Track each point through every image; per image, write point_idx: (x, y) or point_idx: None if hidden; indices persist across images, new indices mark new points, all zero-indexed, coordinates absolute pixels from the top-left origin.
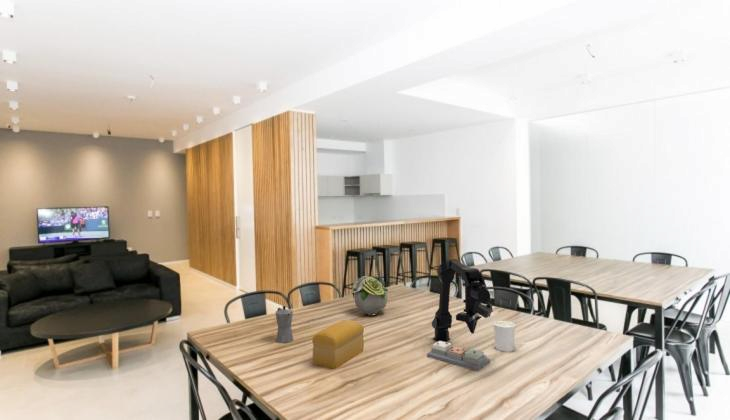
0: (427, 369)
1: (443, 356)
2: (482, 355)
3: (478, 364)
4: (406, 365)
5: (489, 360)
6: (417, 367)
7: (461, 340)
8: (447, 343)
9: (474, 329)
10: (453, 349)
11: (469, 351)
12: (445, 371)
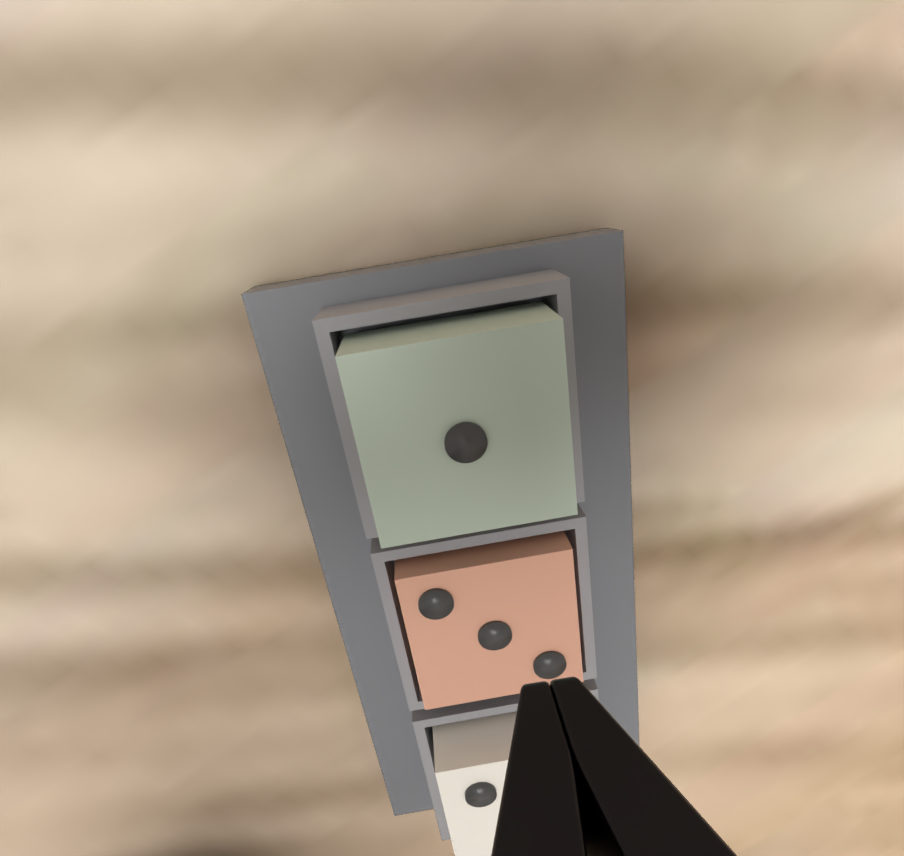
0: (874, 582)
1: (601, 656)
2: (388, 336)
3: (556, 271)
4: (893, 717)
5: (263, 288)
6: (882, 651)
7: (38, 817)
8: (477, 791)
9: (560, 777)
10: (513, 672)
11: (495, 498)
12: (824, 460)
